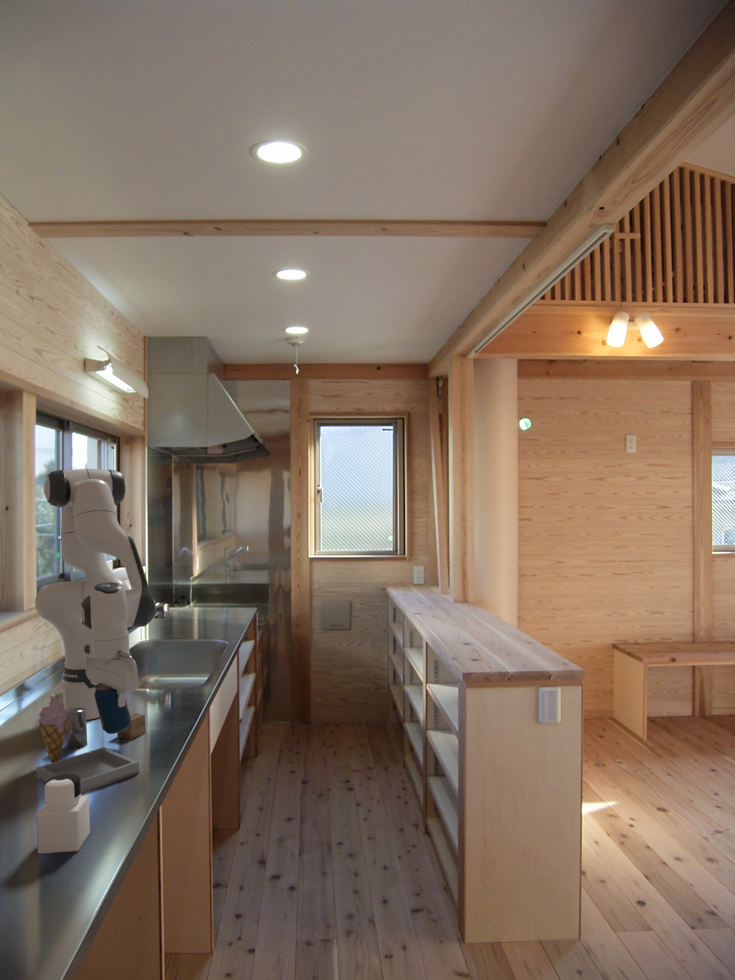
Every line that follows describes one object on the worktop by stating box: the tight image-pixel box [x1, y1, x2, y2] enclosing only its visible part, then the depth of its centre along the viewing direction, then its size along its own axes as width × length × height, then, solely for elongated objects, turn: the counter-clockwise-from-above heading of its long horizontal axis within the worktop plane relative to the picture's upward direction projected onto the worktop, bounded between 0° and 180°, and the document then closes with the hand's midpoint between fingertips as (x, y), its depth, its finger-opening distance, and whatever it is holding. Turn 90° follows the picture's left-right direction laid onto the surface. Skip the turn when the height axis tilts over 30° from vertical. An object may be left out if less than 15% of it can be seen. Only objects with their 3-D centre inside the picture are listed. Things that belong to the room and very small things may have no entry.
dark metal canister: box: [65, 708, 88, 750], centre depth 183 cm, size 5×5×9 cm
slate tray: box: [36, 747, 140, 795], centre depth 162 cm, size 16×16×3 cm
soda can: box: [94, 683, 131, 735], centre depth 180 cm, size 7×7×12 cm
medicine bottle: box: [35, 774, 91, 855], centre depth 131 cm, size 7×7×12 cm
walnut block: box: [116, 712, 146, 740], centre depth 190 cm, size 5×5×5 cm
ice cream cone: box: [38, 699, 68, 763], centre depth 171 cm, size 7×6×15 cm
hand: (112, 703), depth 180 cm, fingers closed on soda can, 7 cm apart
